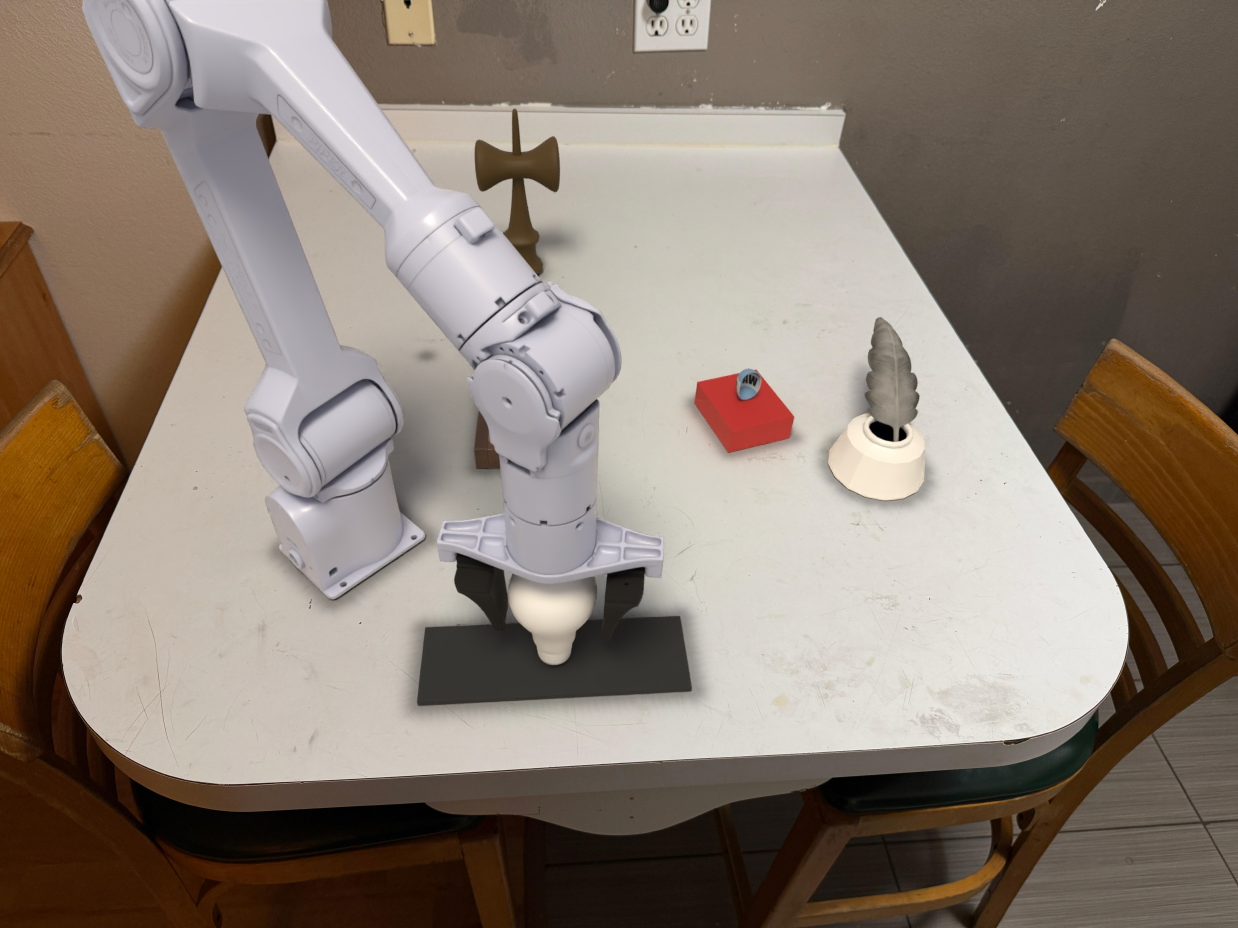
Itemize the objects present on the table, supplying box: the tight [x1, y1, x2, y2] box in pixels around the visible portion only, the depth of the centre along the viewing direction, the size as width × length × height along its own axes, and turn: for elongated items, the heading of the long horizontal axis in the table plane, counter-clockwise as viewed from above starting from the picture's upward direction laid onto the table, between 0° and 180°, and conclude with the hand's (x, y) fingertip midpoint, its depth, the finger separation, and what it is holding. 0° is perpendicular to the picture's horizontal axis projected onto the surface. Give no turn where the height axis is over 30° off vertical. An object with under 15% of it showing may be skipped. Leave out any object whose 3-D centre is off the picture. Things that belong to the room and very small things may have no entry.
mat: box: [416, 615, 693, 707], centre depth 62 cm, size 20×6×1 cm, turn 95°
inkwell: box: [827, 316, 926, 502], centre depth 79 cm, size 9×18×10 cm, turn 178°
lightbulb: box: [507, 573, 598, 665], centre depth 58 cm, size 6×6×11 cm
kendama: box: [473, 108, 561, 275], centre depth 96 cm, size 6×10×20 cm, turn 97°
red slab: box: [693, 368, 795, 453], centre depth 81 cm, size 8×7×6 cm
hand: (554, 623), depth 59 cm, fingers open, 7 cm apart
